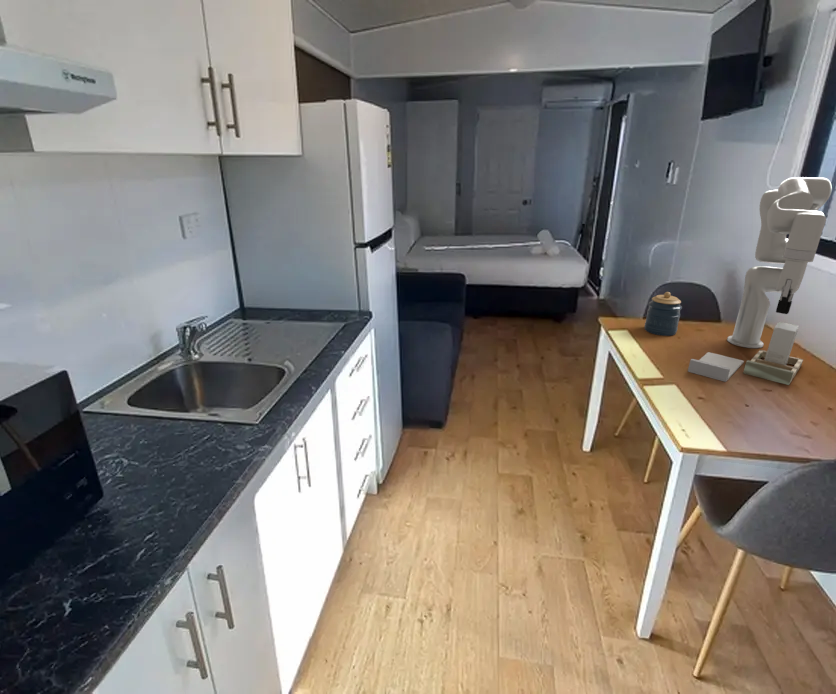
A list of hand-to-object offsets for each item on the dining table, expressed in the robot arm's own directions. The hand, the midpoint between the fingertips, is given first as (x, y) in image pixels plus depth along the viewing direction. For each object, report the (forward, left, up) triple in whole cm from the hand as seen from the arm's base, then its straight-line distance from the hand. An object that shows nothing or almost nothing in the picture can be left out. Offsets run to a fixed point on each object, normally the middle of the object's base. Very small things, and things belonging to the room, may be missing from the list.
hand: (782, 312), depth 155 cm
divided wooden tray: (-17, 0, -25) cm, 30 cm away
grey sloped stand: (-5, -15, -25) cm, 29 cm away
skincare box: (-22, 0, -25) cm, 33 cm away
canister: (-31, -44, -25) cm, 60 cm away
